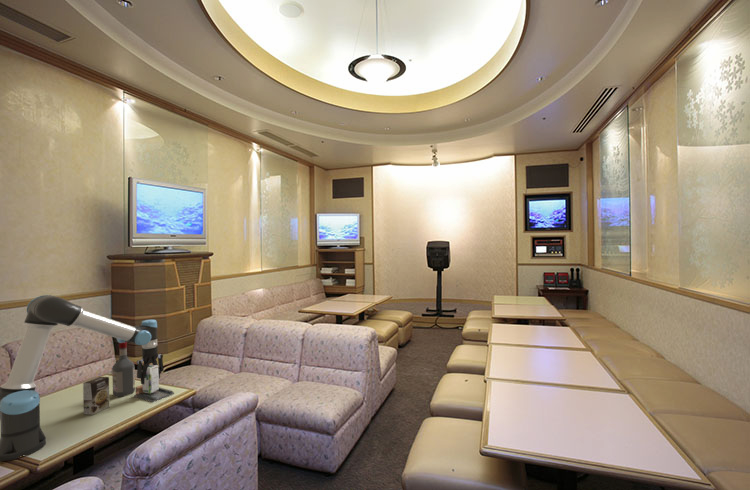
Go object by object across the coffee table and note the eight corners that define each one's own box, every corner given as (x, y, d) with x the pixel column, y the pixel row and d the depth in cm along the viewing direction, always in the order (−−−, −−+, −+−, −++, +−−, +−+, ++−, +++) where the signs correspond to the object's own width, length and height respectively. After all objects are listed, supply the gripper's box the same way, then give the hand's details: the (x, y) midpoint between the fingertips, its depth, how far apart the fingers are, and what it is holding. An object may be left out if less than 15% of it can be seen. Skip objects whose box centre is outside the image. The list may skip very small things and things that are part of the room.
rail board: (152, 402, 190) (152, 393, 190) (133, 396, 198) (133, 387, 198) (174, 393, 200) (173, 385, 200) (155, 388, 209) (155, 380, 209)
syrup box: (142, 392, 198) (141, 367, 198) (152, 388, 204) (151, 363, 204) (150, 393, 197) (149, 368, 197) (159, 389, 202) (158, 364, 202)
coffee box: (93, 415, 177) (92, 383, 177) (83, 414, 178) (82, 382, 178) (110, 406, 186) (109, 376, 186) (100, 406, 187) (99, 376, 187)
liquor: (119, 398, 196) (117, 345, 196) (111, 395, 201) (110, 343, 201) (136, 392, 204) (135, 341, 204) (128, 389, 209) (127, 339, 209)
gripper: (135, 352, 190) (136, 394, 190) (170, 343, 207) (171, 382, 207) (128, 350, 194) (129, 392, 193) (162, 342, 211) (163, 380, 211)
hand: (150, 386), depth 200 cm, fingers closed on syrup box, 6 cm apart
